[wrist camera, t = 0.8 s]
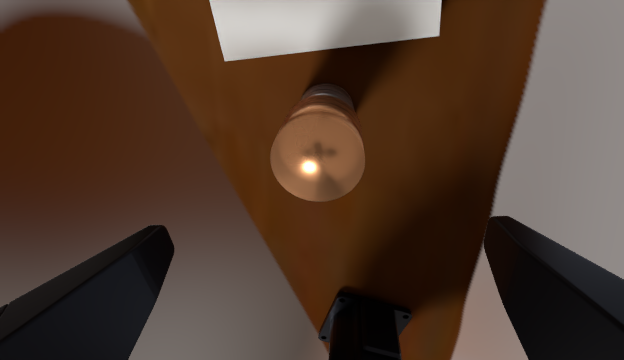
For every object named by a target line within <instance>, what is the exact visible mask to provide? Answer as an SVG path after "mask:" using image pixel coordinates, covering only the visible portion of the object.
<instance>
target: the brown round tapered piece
mask: <svg viewBox="0 0 624 360" xmlns="http://www.w3.org/2000/svg"><path fill="white" fill-rule="evenodd" d="M270 157H271V167H272V170H273V173H274V175H275V177H276V178H277V180H278V182H279V183H280V184H281V185H282V186H283V187H284V188H285V189H286V190H287V191H289V192H290V193H292V194H293V195H295V196H297V197H299V198H302V199H305V200H309V201H330V200H334V199H337V198H339V197H342V196H344V195H345V194H347V193H348V192H350V191H351V190H352V189H353V188H354V187H355V186H356V185H357V183H358V182H359V180H360V178H361V176H362V174H363V171H364V166H365V156H364V147H363V139H362V130H361V124H360V121H359V118H358V116H357V114H356V113H355V111H354V107H353V102H352V100H351V97H350V96H349V94H348V93H347V92H346V91H345V90H344V89H343V88H341V87H340V86H338V85H335V84H332V83H320V84H317V85H314V86H312V87H311V88H309V89H308V90H307V91H306V92H305V93H304V94H303V96H302V98H301V100H300V101H299V102H298V103H297V104H295V105H294V106H293V107H292V109H291V110H290V111H289V113H288V114H287V116H286V118H285V120H284V122H283V124H282V126H281V129H280V131H279V133H278V135H277V137H276V139H275V141H274V143H273V146H272V149H271V155H270Z"/></svg>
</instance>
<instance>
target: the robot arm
mask: <svg viewBox="0 0 624 360" xmlns="http://www.w3.org/2000/svg"><path fill="white" fill-rule="evenodd" d="M484 249H485V253H486V256H487V259H488V261H489V264H490V267H491V271H492V274H493V277H494V280H495V283H496V286H497V288H498V292H499V294H500V297H501V300H502V303H503V305H504V308H505V310H506V312H507V314H508V316H509V319H510V321H511V323H512V325H513V327H514V329H515V331H516V333H517V335H518V338H519V340H520V342H521V344H522V346H523V349H524V351H525V353H526V355H527V357H528V359H529V360H624V279H622V278H620V277H618V276H616V275H615V274H612V273H611V272H609V271H607V270H605V269H604V268H602V267H600V266H598V265H596V264H594V263H593V262H591V261H589V260H587V259H585V258H584V257H582V256H580V255H578V254H576V253H575V252H573V251H571V250H569V249H567V248H565V247H564V246H562V245H560V244H558V243H556V242H555V241H553V240H551V239H549V238H547V237H546V236H544V235H542V234H540V233H538V232H536V231H535V230H532V229H531V228H529V227H527V226H525V225H524V224H522V223H520V222H518V221H516V220H514V219H513V218H511V217H509V216H493V217H491V218H490V219H489V221H488V225H487V230H486V234H485V239H484ZM173 255H174V245H173V243H172V240H171V238H170V236H169V233H168V231H167V229H166V227H165V226H163V225H150V226H148V227H146V228H144V229H142V230H140V231H138V232H136V233H135V234H133V235H131V236H129V237H127V238H126V239H124V240H122V241H120V242H118V243H117V244H115V245H113V246H111V247H110V248H107V249H106V250H104V251H102V252H100V253H98V254H97V255H95V256H93V257H91V258H89V259H87V260H86V261H84V262H82V263H80V264H78V265H77V266H75V267H73V268H71V269H70V270H68V271H66V272H64V273H62V274H60V275H58V276H57V277H55V278H53V279H51V280H49V281H48V282H46V283H44V284H42V285H40V286H39V287H37V288H35V289H33V290H31V291H29V292H28V293H26V294H24V295H22V296H20V297H19V298H17V299H15V300H13V301H11V302H10V303H9V304H6V305H4V306H2V307H0V360H128V358H129V356H130V354H131V352H132V350H133V348H134V346H135V344H136V342H137V340H138V338H139V336H140V334H141V331H142V330H143V328H144V326H145V323H146V322H147V319H148V317H149V315H150V313H151V311H152V309H153V307H154V305H155V303H156V300H157V298H158V295H159V293H160V290H161V287H162V285H163V282H164V279H165V277H166V274H167V271H168V268H169V266H170V263H171V260H172V258H173ZM411 318H412V315H411V311H410V310H408V309H405V308H401V307H397V306H393V305H390V304H386V303H382V302H378V301H374V300H370V299H366V298H363V297H359V296H355V295H351V294H347V293H338V294H337V295H336V297H335V300H334V302H333V304H332V306H331V308H330V310H329V312H328V314H327V316H326V318H325V321H324V323H323V325H322V327H321V329H320V331H319V336H318V338H319V339H320V340H322V341H325V342H329V360H402V359H401V349H400V343H399V337H398V336H399V335H400V334H401V332H402V331H403V329H404V328H405V327H406V325H407V324H408V322H409V321H410V320H411Z"/></svg>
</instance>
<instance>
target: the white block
mask: <svg viewBox="0 0 624 360" xmlns="http://www.w3.org/2000/svg"><path fill="white" fill-rule="evenodd" d="M441 2H442V0H210V4H211V8H212V12H213V16H214V20H215V24H216V28H217V32H218V36H219V40H220V44H221V48H222V52H223V56H224V60H225V61H232V60H240V59H249V58H257V57H265V56H274V55H282V54H291V53H299V52H308V51H316V50H324V49H333V48H341V47H350V46H358V45H367V44H375V43H383V42H392V41H400V40H409V39H417V38H426V37H434V36H439V28H440V15H441Z"/></svg>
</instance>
